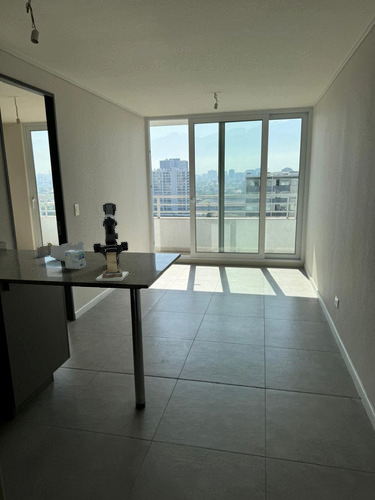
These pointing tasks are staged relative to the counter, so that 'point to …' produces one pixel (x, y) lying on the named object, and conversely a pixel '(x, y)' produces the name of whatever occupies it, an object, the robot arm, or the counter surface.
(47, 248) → the ruin model on sheet
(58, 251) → the grey angular block
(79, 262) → the light bulb box
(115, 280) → the base board
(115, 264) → the maple pillar
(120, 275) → the socket frame
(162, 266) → the counter surface
